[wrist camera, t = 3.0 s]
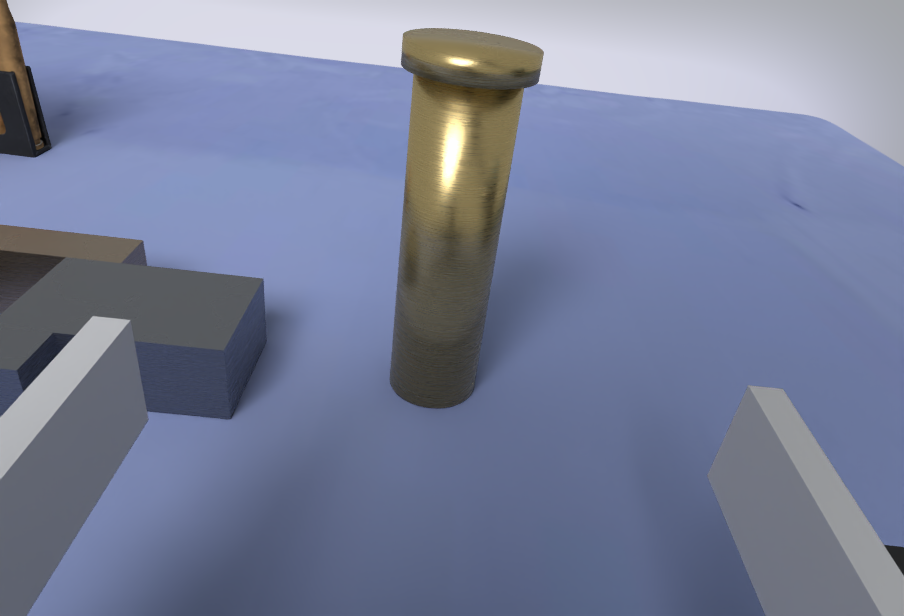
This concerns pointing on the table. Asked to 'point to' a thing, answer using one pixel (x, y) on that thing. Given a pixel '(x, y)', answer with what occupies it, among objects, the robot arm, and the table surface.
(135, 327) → the chain joint
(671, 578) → the table surface
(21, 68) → the ammunition clip
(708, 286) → the table surface
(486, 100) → the link pin
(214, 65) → the table surface
